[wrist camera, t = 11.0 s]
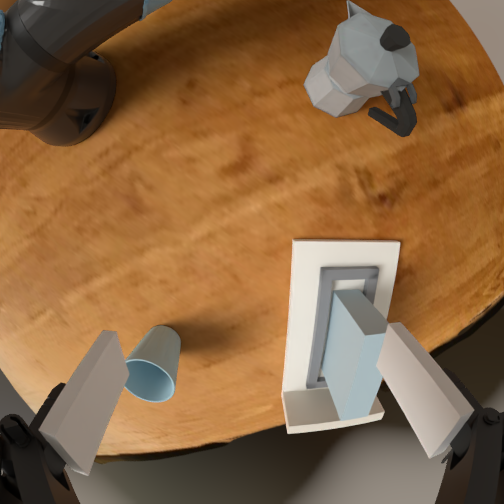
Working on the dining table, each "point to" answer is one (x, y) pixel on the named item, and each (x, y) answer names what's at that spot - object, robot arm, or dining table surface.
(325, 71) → the coffee maker
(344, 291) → the light blue block
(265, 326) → the dining table surface
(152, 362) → the cup
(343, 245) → the track
